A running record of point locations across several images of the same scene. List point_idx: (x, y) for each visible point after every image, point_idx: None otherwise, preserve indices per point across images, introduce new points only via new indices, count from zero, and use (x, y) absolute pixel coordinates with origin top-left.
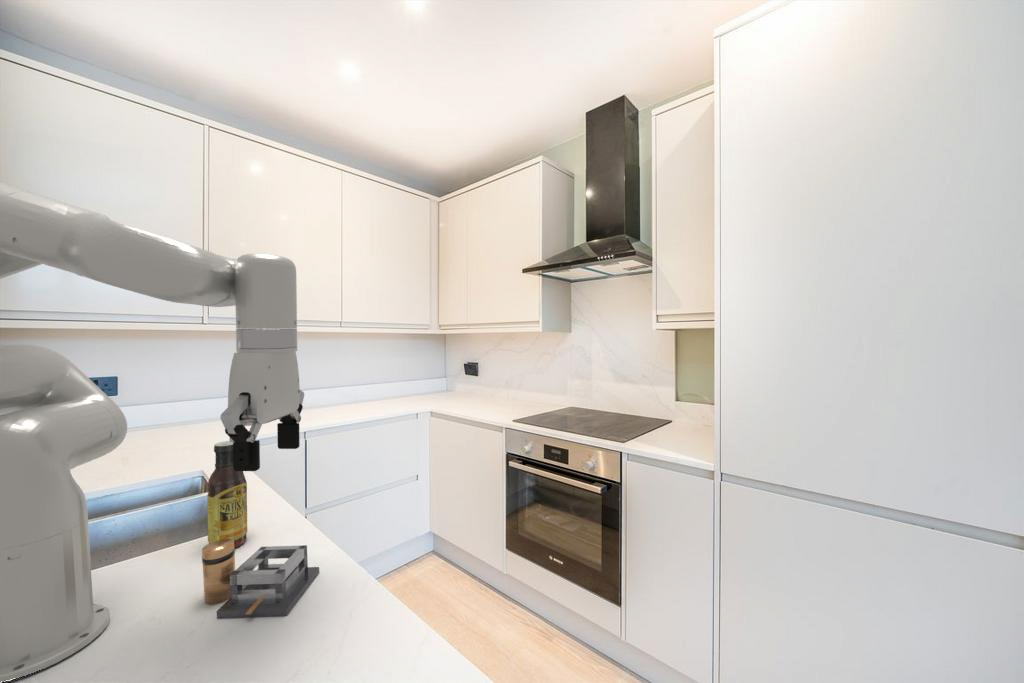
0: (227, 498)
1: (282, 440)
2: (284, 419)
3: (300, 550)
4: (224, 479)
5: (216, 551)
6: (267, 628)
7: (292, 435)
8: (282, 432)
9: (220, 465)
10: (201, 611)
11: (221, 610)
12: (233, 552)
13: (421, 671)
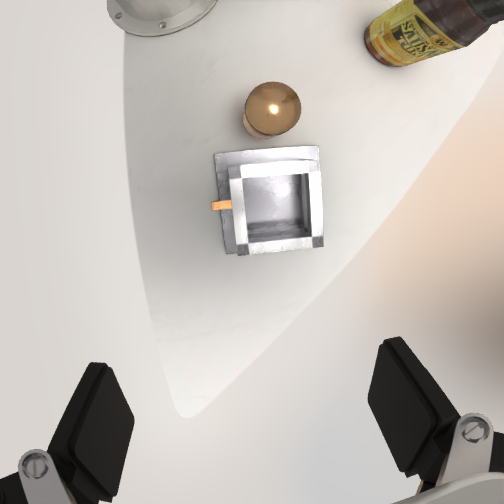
0: (421, 28)
1: (392, 381)
2: (442, 458)
3: (307, 244)
4: (446, 10)
5: (251, 121)
6: (202, 240)
7: (388, 430)
8: (406, 410)
9: None
10: (227, 118)
11: (217, 159)
12: (279, 134)
13: (176, 402)
